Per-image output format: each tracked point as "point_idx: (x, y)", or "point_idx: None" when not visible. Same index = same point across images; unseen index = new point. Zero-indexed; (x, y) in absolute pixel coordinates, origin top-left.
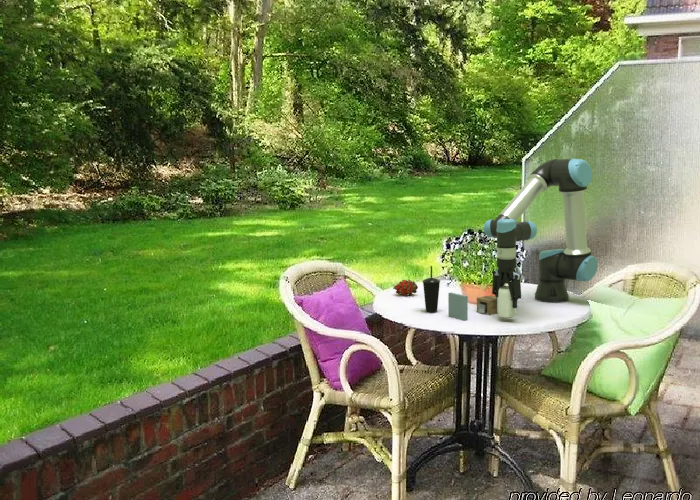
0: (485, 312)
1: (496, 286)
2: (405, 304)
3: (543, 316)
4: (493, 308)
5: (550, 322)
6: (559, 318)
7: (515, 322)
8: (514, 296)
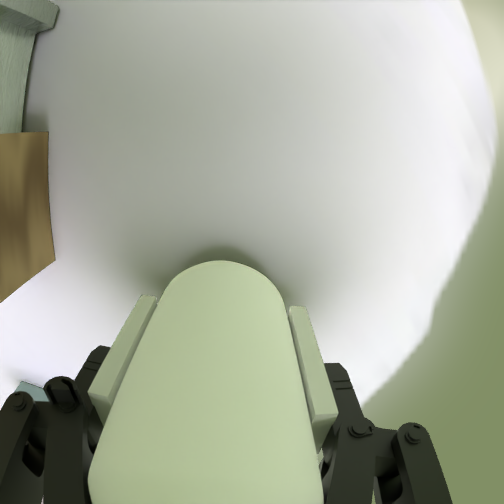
0: None
1: (24, 492)
2: None
3: (326, 5)
4: (27, 240)
5: (455, 135)
6: (423, 8)
7: (303, 296)
8: (311, 437)
